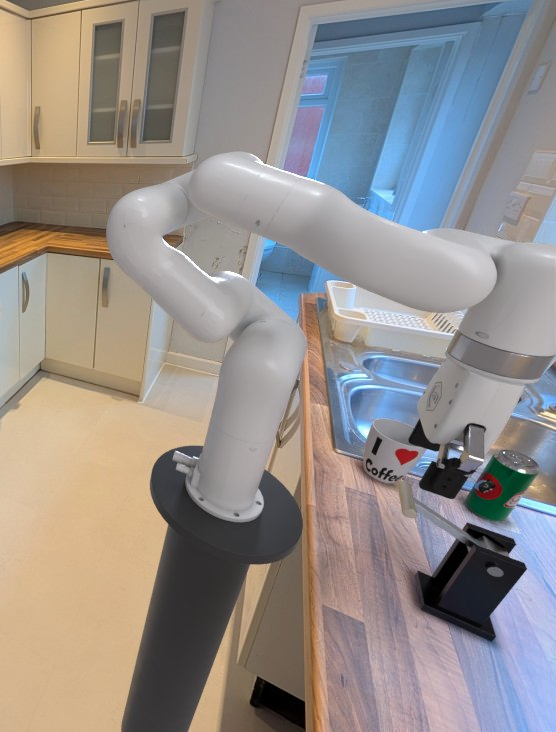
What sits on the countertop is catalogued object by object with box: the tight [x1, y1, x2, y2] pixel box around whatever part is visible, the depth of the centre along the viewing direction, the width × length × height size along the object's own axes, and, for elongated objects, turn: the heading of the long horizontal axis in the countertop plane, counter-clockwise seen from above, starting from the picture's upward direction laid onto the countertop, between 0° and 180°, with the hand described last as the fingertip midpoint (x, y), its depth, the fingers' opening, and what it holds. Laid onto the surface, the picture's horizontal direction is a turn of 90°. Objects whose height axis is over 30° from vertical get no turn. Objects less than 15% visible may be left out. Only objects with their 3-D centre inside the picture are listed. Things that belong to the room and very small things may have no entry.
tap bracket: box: [414, 522, 528, 643], centre depth 56 cm, size 7×6×13 cm
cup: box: [362, 417, 428, 484], centre depth 79 cm, size 8×8×10 cm
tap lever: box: [396, 480, 510, 557], centre depth 56 cm, size 12×6×2 cm, turn 56°
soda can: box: [464, 448, 540, 522], centre depth 71 cm, size 5×5×12 cm
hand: (428, 468), depth 55 cm, fingers open, 9 cm apart
